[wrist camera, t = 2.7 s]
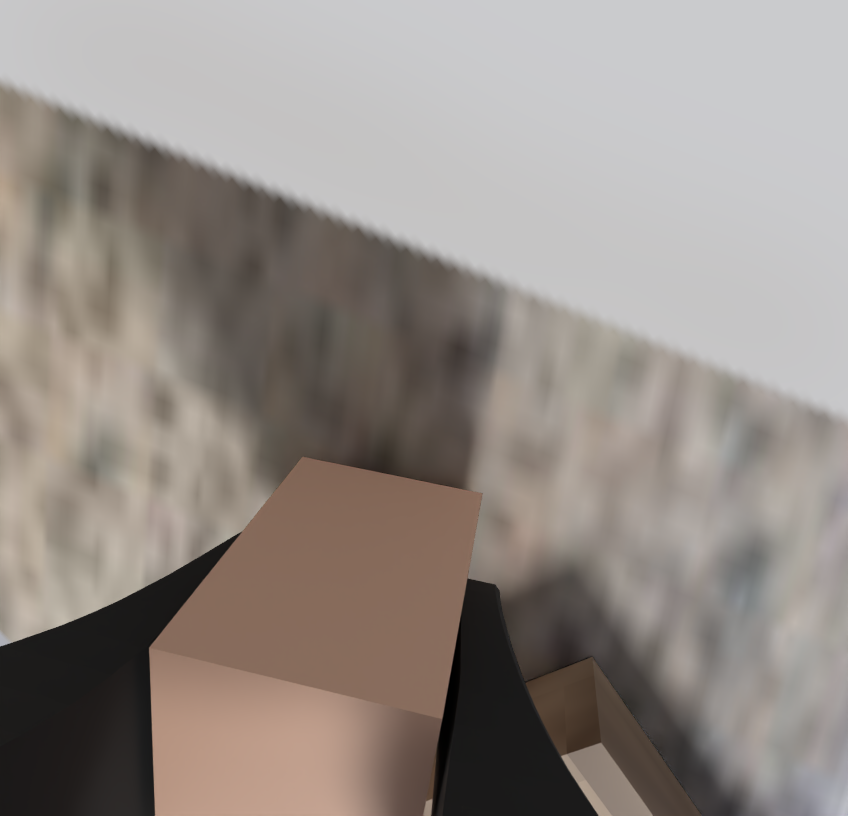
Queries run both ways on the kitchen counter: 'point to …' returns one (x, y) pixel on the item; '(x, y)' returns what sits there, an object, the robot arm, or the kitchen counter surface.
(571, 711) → the tray
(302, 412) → the kitchen counter surface
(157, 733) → the block
